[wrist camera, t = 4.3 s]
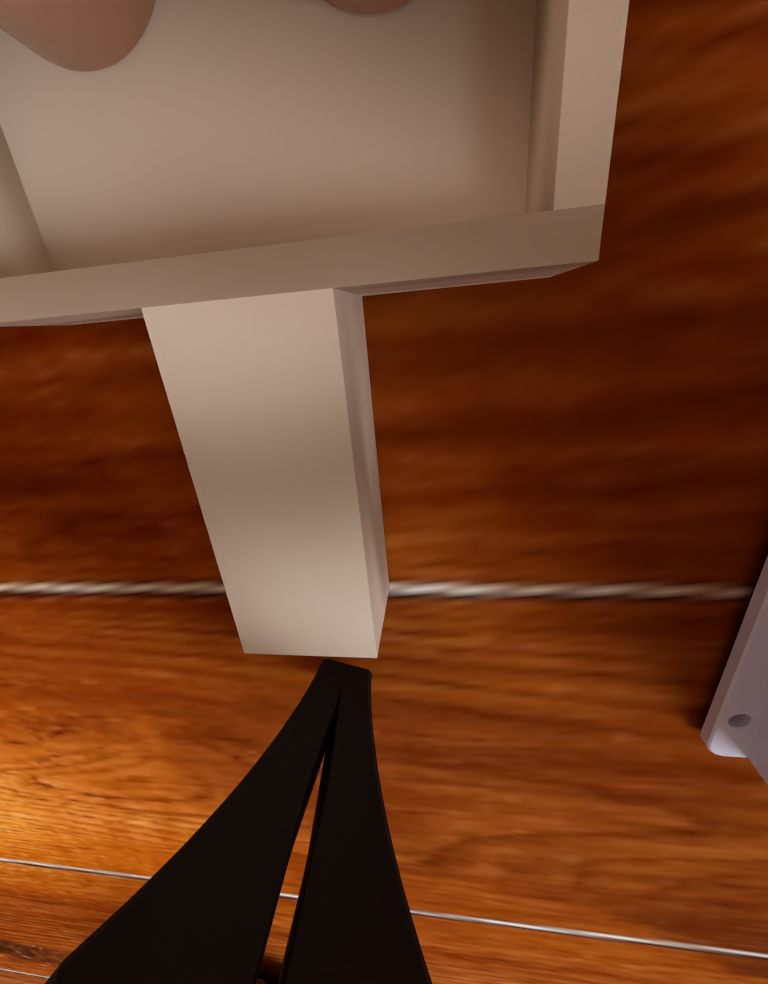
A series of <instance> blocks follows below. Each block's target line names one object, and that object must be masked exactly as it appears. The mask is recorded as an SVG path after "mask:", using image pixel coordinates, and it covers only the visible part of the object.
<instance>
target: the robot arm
mask: <svg viewBox="0 0 768 984" xmlns="http://www.w3.org/2000/svg"><path fill="white" fill-rule="evenodd" d="M371 678H372V673H371V672H370V671H369V670H367V669H364V668H360V667H356V666H352V665H348V664H345V663H341V662H337V661H333V660H329V659H325V660H323V661H322V662H321V665H320V667H319V669H318V671H317V673H316V675H315V677H314V679H313V681H312V683H311V685H310V686H309V688H308V690H307V692H306V693H305V695H304V696H303V698H302V700H301V701H300V703H299V704H298V706H297V707H296V709H295V710H294V712H293V713H292V715H291V716H290V718H289V719H288V721H287V722H286V724H285V725H284V727H283V728H282V729H281V731H280V732H279V734H278V735H277V736H276V738H275V739H274V740H273V742H272V743H271V744H270V746H269V747H268V748H267V749H266V751H265V752H264V753H263V755H262V756H261V757H260V759H259V760H258V761H257V763H256V764H255V765H254V766H253V768H252V769H251V770H250V771H249V773H248V774H247V775H246V776H245V777H244V779H243V780H242V781H241V782H240V783H239V785H238V786H237V787H236V788H235V789H234V790H233V792H232V793H231V794H230V795H229V796H228V797H227V799H226V800H225V801H224V802H223V803H222V804H221V805H220V807H219V808H218V809H217V810H216V811H215V812H214V813H213V814H212V815H211V816H210V818H209V819H208V820H207V821H206V822H205V823H204V824H203V825H202V826H201V827H200V829H199V830H198V831H197V832H196V833H195V834H194V835H193V836H192V837H191V838H190V839H189V840H188V841H187V842H186V843H185V844H184V845H183V847H182V848H181V849H180V850H179V851H178V852H177V853H176V854H175V855H174V856H173V857H172V858H171V859H170V860H169V861H168V862H167V863H166V864H165V865H164V866H163V867H162V868H161V869H160V870H159V871H158V872H157V873H156V874H155V875H154V876H153V877H152V878H151V879H150V880H149V881H148V882H147V883H146V884H145V885H144V886H143V887H142V888H141V889H140V890H139V891H138V892H137V893H135V894H134V895H133V896H132V897H131V898H130V899H129V900H128V901H127V902H126V903H125V904H124V905H123V906H122V907H121V908H120V909H119V910H117V911H116V912H115V913H114V914H113V915H112V916H111V917H110V918H109V919H108V920H107V921H106V922H104V923H103V924H102V925H101V926H100V927H99V928H98V929H97V930H96V931H95V932H94V933H92V934H91V935H90V936H89V937H88V938H87V939H86V940H85V941H84V942H83V943H82V944H81V945H79V946H78V947H77V948H76V949H75V950H74V951H73V952H72V953H71V954H70V955H69V956H68V957H66V958H65V960H64V961H63V962H62V963H61V964H60V965H59V967H58V968H57V969H56V970H55V972H54V973H53V974H52V975H51V977H50V978H49V979H48V980H47V982H46V983H45V984H256V982H257V978H258V974H259V971H260V967H261V963H262V959H263V955H264V952H265V948H266V944H267V940H268V937H269V933H270V929H271V925H272V922H273V918H274V914H275V910H276V906H277V903H278V899H279V895H280V891H281V888H282V884H283V880H284V876H285V873H286V869H287V866H288V862H289V859H290V856H291V852H292V849H293V846H294V843H295V840H296V837H297V834H298V831H299V828H300V825H301V822H302V819H303V816H304V813H305V810H306V807H307V804H308V801H309V798H310V795H311V792H312V790H313V787H314V784H315V781H316V778H317V775H318V772H319V769H320V766H321V763H322V760H323V757H324V754H325V757H324V762H323V768H322V774H321V780H320V786H319V792H318V798H317V804H316V809H315V815H314V821H313V827H312V833H311V839H310V845H309V851H308V856H307V861H306V866H305V871H304V875H303V879H302V884H301V888H300V892H299V896H298V900H297V905H296V909H295V913H294V917H293V921H292V926H291V930H290V934H289V938H288V942H287V947H286V951H285V955H284V959H283V963H282V967H281V972H280V976H279V980H278V984H432V981H431V978H430V975H429V972H428V969H427V966H426V963H425V960H424V957H423V953H422V950H421V947H420V944H419V940H418V937H417V933H416V930H415V926H414V923H413V920H412V916H411V913H410V909H409V906H408V902H407V899H406V895H405V892H404V888H403V885H402V881H401V877H400V873H399V869H398V865H397V861H396V857H395V853H394V849H393V844H392V840H391V836H390V831H389V827H388V822H387V817H386V812H385V807H384V802H383V796H382V791H381V785H380V779H379V773H378V766H377V759H376V751H375V743H374V735H373V724H372V709H371ZM701 738H702V739H703V741H704V743H705V744H706V746H707V747H708V749H709V750H710V751H711V752H713V753H715V754H717V755H721V756H731V757H747V758H749V760H750V761H751V763H752V764H753V765H754V767H755V768H756V770H757V771H758V773H759V774H760V775H761V777H762V778H763V780H764V781H765V783H766V784H767V785H768V556H767V559H766V561H765V564H764V566H763V569H762V572H761V574H760V577H759V580H758V582H757V585H756V588H755V590H754V593H753V596H752V598H751V601H750V603H749V606H748V609H747V611H746V614H745V617H744V619H743V622H742V625H741V627H740V630H739V632H738V635H737V638H736V640H735V643H734V646H733V648H732V651H731V654H730V656H729V659H728V662H727V664H726V667H725V669H724V672H723V675H722V677H721V680H720V683H719V685H718V688H717V691H716V693H715V696H714V698H713V701H712V704H711V706H710V709H709V712H708V714H707V717H706V720H705V722H704V725H703V728H702V730H701Z"/></svg>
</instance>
